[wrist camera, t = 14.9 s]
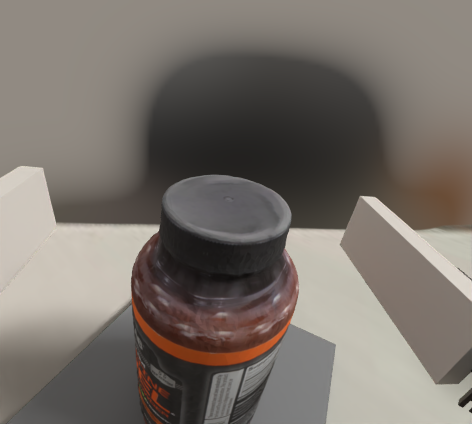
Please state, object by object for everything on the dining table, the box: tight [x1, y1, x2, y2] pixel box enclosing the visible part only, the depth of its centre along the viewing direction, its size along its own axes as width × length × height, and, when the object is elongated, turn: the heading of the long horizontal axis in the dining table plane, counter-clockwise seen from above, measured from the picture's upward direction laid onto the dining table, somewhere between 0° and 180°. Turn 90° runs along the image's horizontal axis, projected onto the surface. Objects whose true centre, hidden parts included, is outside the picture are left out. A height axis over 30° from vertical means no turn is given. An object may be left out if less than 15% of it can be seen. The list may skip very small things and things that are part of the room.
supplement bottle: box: [131, 175, 299, 424], centre depth 11 cm, size 6×6×11 cm
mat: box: [6, 304, 336, 424], centre depth 14 cm, size 13×13×1 cm
